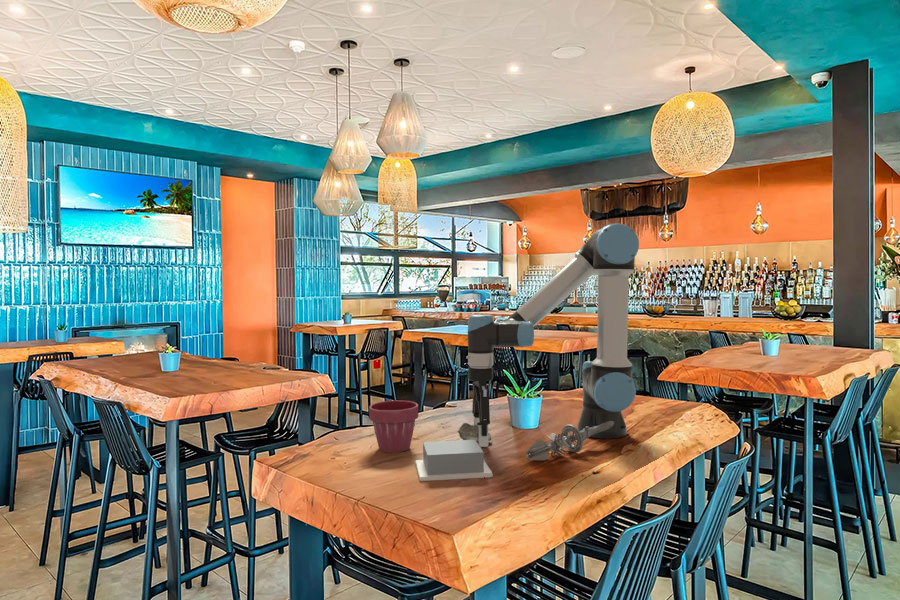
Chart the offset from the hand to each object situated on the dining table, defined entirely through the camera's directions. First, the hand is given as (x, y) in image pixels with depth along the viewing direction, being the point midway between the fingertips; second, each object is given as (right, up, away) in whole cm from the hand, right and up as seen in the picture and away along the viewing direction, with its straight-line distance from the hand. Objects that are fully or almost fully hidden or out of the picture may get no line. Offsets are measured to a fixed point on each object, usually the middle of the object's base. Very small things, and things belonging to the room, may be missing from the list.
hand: (480, 442), depth 175 cm
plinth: (-9, -1, -24) cm, 26 cm away
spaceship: (+25, -1, -9) cm, 27 cm away
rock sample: (-1, -1, 0) cm, 1 cm away
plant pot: (-26, -1, -4) cm, 26 cm away
